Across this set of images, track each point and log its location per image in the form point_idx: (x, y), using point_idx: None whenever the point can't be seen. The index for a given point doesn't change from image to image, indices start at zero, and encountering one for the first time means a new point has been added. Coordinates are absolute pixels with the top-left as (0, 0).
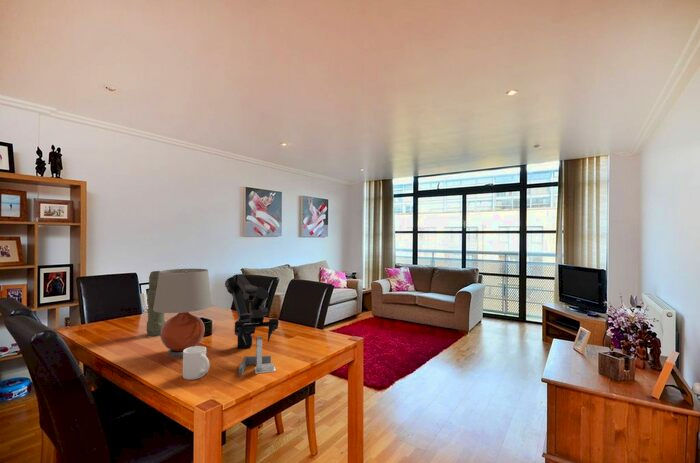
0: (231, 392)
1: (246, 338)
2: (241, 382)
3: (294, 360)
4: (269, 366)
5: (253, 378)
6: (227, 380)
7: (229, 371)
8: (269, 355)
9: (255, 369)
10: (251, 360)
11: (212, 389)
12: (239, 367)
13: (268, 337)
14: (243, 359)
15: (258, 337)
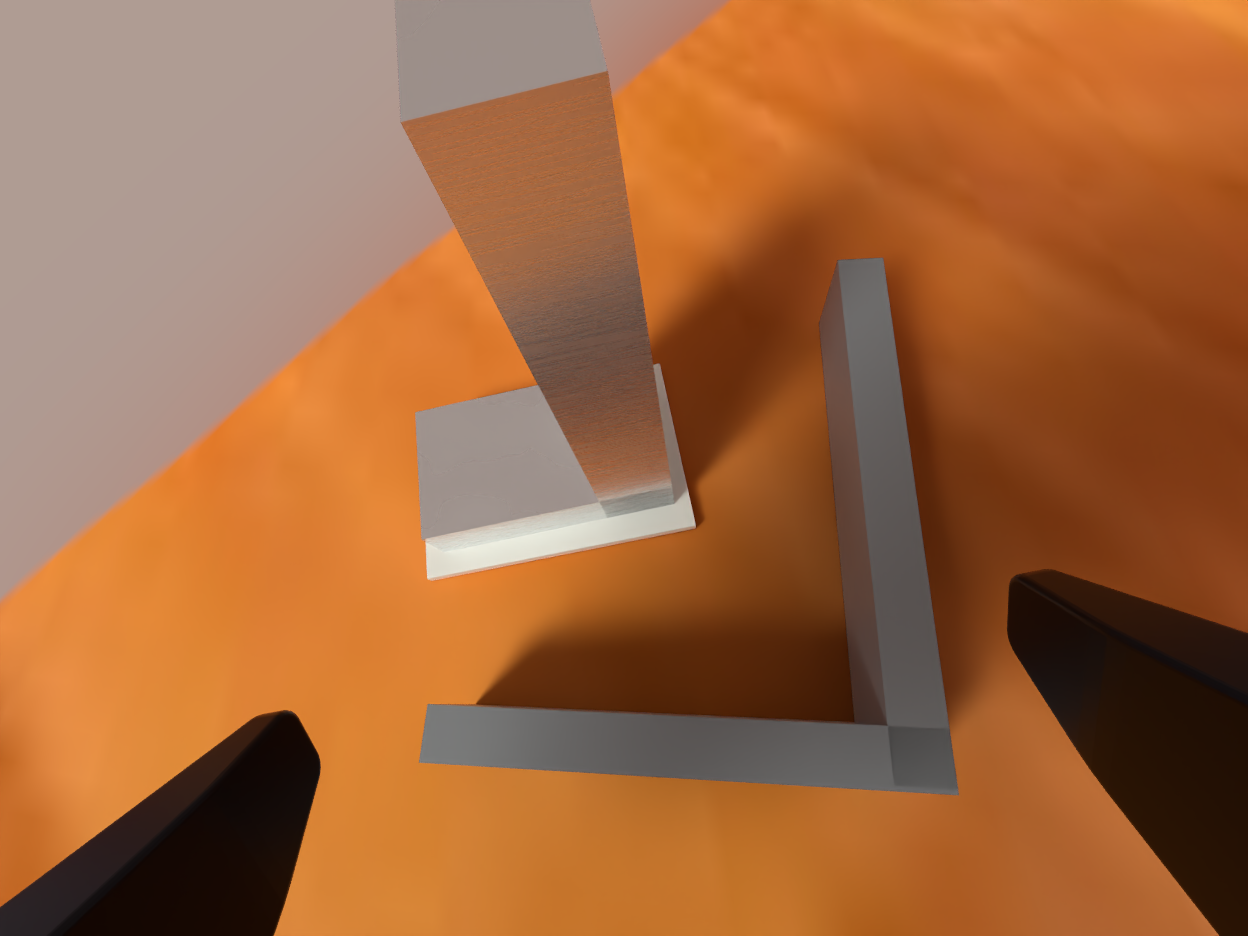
0: (822, 38)
1: (1183, 659)
2: (780, 189)
3: (119, 772)
4: (479, 410)
5: (669, 263)
6: (956, 233)
7: (1044, 472)
8: (446, 760)
9: (676, 470)
10: (784, 719)
11: (1032, 77)
12: (883, 287)
13: (178, 803)
14: (925, 612)
15: (517, 32)
